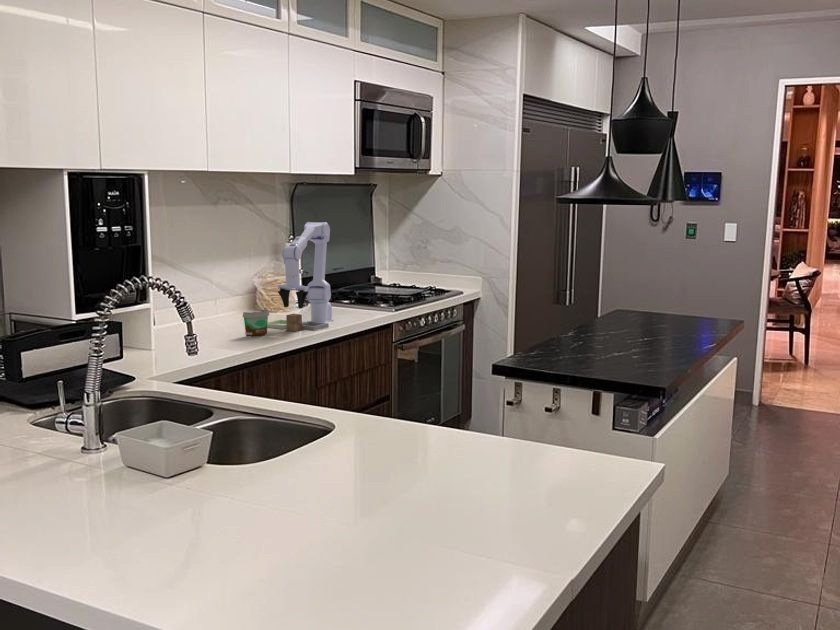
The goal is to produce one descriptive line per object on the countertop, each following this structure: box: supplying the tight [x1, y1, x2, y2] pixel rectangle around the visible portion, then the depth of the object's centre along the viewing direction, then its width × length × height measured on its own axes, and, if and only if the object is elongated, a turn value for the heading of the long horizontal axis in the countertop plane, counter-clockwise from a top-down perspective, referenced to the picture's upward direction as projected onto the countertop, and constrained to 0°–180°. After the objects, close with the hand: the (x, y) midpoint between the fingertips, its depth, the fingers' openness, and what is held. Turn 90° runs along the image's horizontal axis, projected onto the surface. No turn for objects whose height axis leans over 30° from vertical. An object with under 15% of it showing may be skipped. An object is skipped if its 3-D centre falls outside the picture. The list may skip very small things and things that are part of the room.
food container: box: [242, 308, 270, 338], centre depth 337 cm, size 12×6×10 cm, turn 143°
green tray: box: [267, 318, 287, 330], centre depth 357 cm, size 12×12×2 cm
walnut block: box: [285, 313, 303, 332], centre depth 345 cm, size 4×4×6 cm
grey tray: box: [302, 321, 329, 332], centre depth 352 cm, size 10×10×2 cm
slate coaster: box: [284, 329, 304, 333], centre depth 346 cm, size 6×6×1 cm
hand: (293, 307), depth 346 cm, fingers open, 7 cm apart
